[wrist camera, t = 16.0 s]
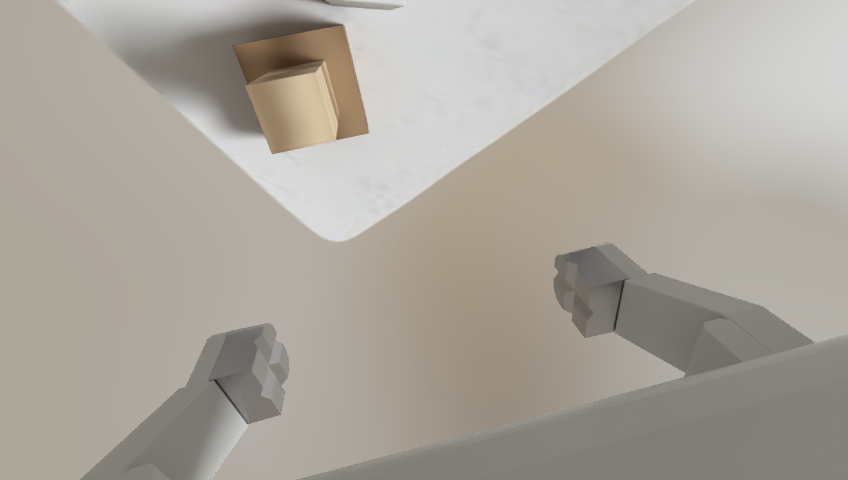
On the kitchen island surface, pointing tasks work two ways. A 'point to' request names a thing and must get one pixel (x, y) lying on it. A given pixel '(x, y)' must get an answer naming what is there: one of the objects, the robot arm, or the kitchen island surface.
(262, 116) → the oak block
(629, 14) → the kitchen island surface
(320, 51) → the walnut block
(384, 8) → the small box
